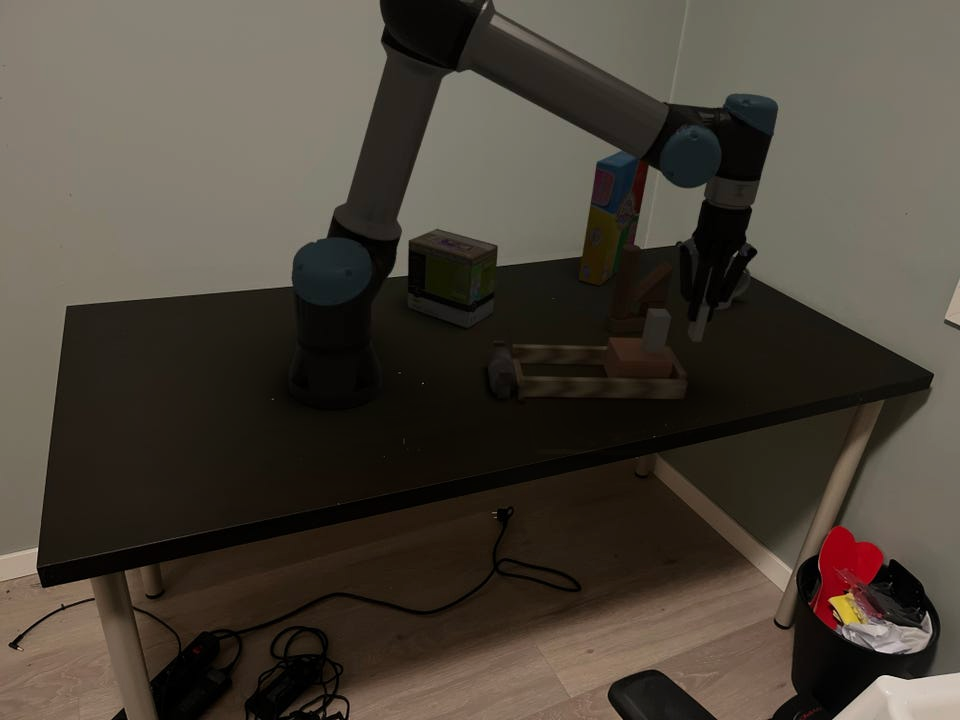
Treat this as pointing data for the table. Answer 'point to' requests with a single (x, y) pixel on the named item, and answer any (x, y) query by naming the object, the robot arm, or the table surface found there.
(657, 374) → the brown block with post
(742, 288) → the mug
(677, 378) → the bay
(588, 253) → the game box
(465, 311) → the tea box
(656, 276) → the brown wooden stand
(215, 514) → the table surface
